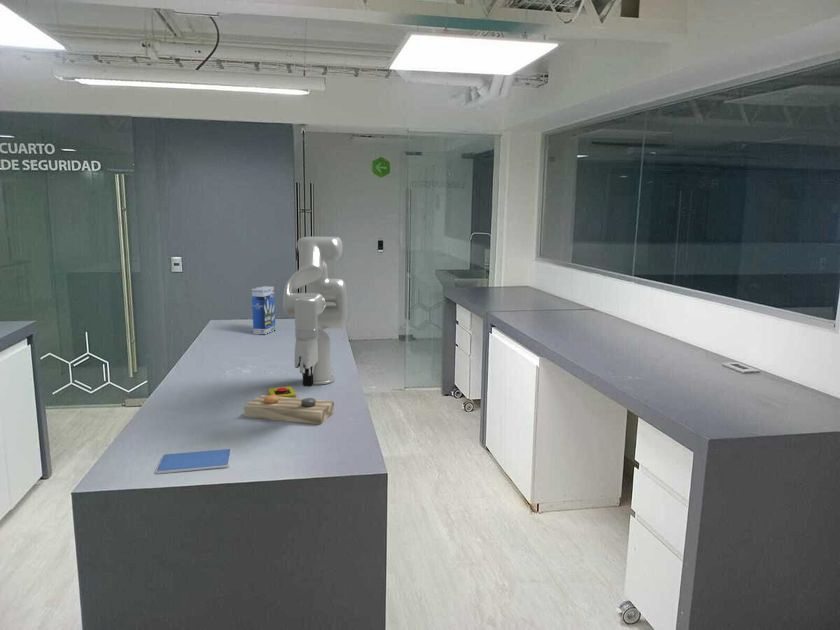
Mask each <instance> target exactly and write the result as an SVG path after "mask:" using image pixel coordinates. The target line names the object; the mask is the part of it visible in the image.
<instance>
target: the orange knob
mask: <svg viewBox="0 0 840 630" xmlns="http://www.w3.org/2000/svg"><path fill="white" fill-rule="evenodd" d="M264 396H265V397H264V402H265V403H269V404H274V403H276V402H278V396H277V395H268V396H267V395H264Z"/></svg>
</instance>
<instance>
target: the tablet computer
mask: <svg viewBox="0 0 840 630" xmlns="http://www.w3.org/2000/svg"><path fill="white" fill-rule="evenodd" d="M232 454H233V450H232V449H231V448H224V449H212V450H204V451H203V450H201V451H200V450H199V451H190V452H189V451H188V452H179V453H178V452H177V453H166V454H163V455H162V456H161V458H160V461H159V462H158V465H157V467H156V470H155V472H154V474H155V475H162V474H163V475H164V474H170V473H171V474H173V473H174V474H175V473H182V472H193V471H206V470H207V471H208V470H214V469H215V470H216V469H227V468H230V465H231V460H232Z"/></svg>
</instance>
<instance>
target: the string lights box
mask: <svg viewBox="0 0 840 630" xmlns="http://www.w3.org/2000/svg"><path fill="white" fill-rule="evenodd" d="M251 300H252V301H251V303H252V304H251V305H252V327H253V328H252V331H253V335H258V334H266V335H268V334H270V333H269V332H271V333H273V332H275V331H274V330H276V309H275V308H276V307H275V286H265V285H263V286H259V287H254V288H251ZM272 331H273V332H272ZM267 333H268V334H267Z"/></svg>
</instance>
